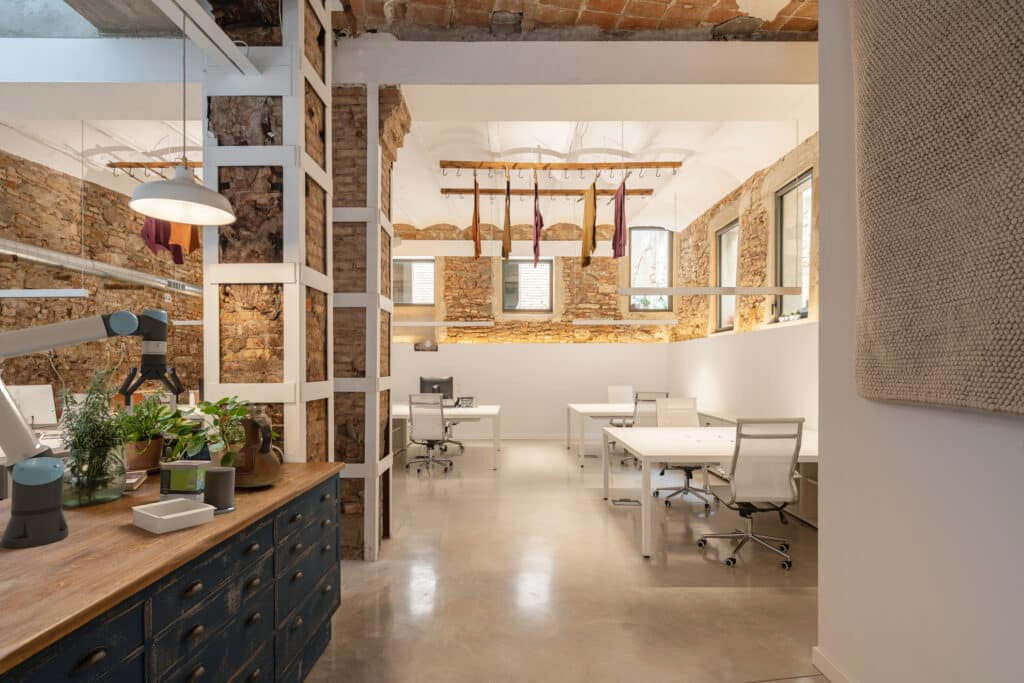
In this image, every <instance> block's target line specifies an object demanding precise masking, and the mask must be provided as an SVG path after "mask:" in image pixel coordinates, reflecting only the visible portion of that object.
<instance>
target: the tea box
mask: <svg viewBox="0 0 1024 683" xmlns="http://www.w3.org/2000/svg"><path fill="white" fill-rule="evenodd" d="M208 468H214V460H174V461H170V462H167V463H161V464H160V473H159V474H160V478H159V479H160V480H159V502H163V501H168V500H173V499H179V498H184V499H190V500H194V501H197V502H201V503H203V502H204V483H205V470H206V469H208Z"/></svg>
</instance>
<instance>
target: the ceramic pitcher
mask: <svg viewBox="0 0 1024 683" xmlns="http://www.w3.org/2000/svg"><path fill="white" fill-rule="evenodd" d="M238 422H239V423H240V424H241V425H242V427H243V429H244V430H243V431H244V434H245V442H244V445H243V446H242V447H241V448H240V449H239V450H238V451H237V453H236V454H235V456H234V458H233V460H232V463H231V466H230V467H233V468H235V481H234V487H238V488H257V487H265V486H268V485H271V486H272V485H275V484H277V482H278V481H279V480H280V479H281V475H282V467H281V463H280V462H281V461H280V460H279V457H278V456H277V453H276V452H275V451H274V450H273V449H272V448H271V444H272V436H273V434H272V428H271V425H270V423H269V421H267V420H266V418H265V416H261V417H259V416H258V417H257V416H256V417H251V418H242V419H239V420H238ZM261 436H262V437H261Z"/></svg>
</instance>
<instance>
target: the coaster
mask: <svg viewBox="0 0 1024 683" xmlns="http://www.w3.org/2000/svg"><path fill="white" fill-rule="evenodd" d="M237 509H238V505H237V504H236V503H234V505H233V507H231V508H229V509H224V510H216V511H214V515H215V516H216V515H223V514H228V513H231V512H235V511H236V510H237Z"/></svg>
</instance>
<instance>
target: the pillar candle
mask: <svg viewBox="0 0 1024 683" xmlns="http://www.w3.org/2000/svg"><path fill="white" fill-rule="evenodd" d="M234 481H235V468H233V467H231V466H213V468H208V469H206V470H205V483H204V501H203V502H202V503H204V504H208V505H211V506H214V507H215V508H217V509H214V511H216V510H224V509H229V508H231V507H233V505H234V504H235V503H234V500H235V499H234V498H235V486H234Z"/></svg>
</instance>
